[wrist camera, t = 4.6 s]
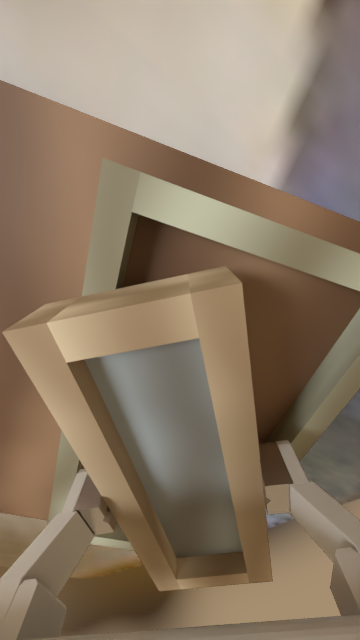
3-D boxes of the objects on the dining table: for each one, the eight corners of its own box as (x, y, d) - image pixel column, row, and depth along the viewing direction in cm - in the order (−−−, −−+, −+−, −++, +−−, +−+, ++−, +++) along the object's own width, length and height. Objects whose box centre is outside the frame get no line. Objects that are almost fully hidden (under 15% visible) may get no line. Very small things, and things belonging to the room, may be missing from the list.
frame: (162, 542, 14) (159, 591, 12) (45, 304, 7) (1, 331, 6) (260, 531, 13) (272, 581, 12) (225, 266, 7) (242, 282, 5)
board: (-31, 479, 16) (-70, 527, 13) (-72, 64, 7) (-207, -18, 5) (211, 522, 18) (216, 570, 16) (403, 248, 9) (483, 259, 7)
